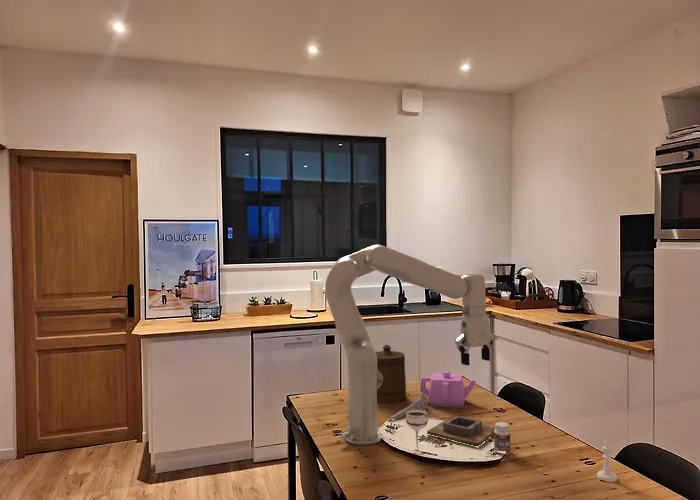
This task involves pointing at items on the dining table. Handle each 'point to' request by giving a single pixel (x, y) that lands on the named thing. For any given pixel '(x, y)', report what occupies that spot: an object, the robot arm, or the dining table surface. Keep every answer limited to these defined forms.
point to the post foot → (463, 430)
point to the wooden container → (390, 376)
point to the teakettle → (446, 389)
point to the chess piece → (606, 466)
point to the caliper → (412, 407)
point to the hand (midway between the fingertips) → (475, 362)
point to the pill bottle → (502, 437)
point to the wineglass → (416, 420)
